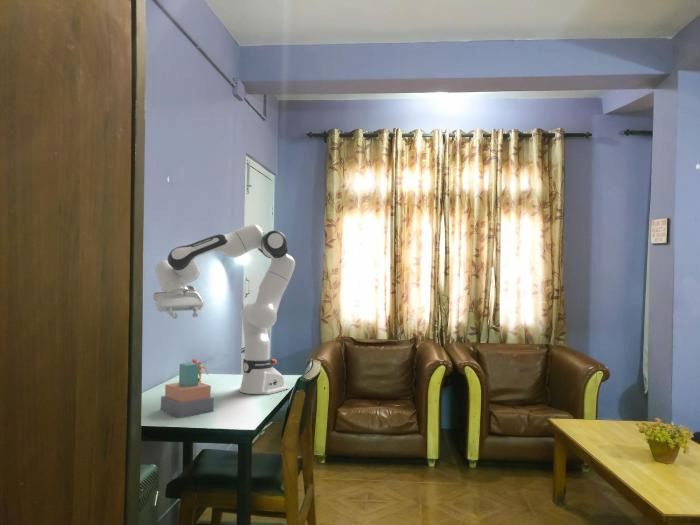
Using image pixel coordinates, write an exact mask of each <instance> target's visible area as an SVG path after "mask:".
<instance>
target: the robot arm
mask: <svg viewBox="0 0 700 525" xmlns="http://www.w3.org/2000/svg"><path fill="white" fill-rule="evenodd" d="M254 249H257V250H258V251H259V252H260V253H261V254H262V255H263V256H265V257H266V258H268V259H270V260H271V261H270V264H269V267H268V269H267V271H266V273H265V275H264V277H263V279H262V281H261V282H260V285H259V287H258V293H257V297H256V300H255V301H254V302H253V301H252V302H249V303H247V304H245V305H244V306H243V308H242V309H241V319H242V326H243V328H242V329H243V336H244V356H243V357H244V358H242V359H243V361H242V370H243V371H242V379H241V383H240V387H239V390H238V391H239V392H241V393H243V394H247V395H272V394H275V393H278V392H282V391H287V390H289V389H290V387H289V385H288V384H285V380H284V379H285V378H284V376H283V374H282V373H281V372H279V370H277V369H276V368H274V367H273V365H277V363H278V361H277V359H275V358H273V359H271V358H270V351H271V350H270V349H271V340H270V337H269V334H268V329H270V328H271V327H273V326H274V325H275V324H276V322H277V319H278V318H277V314H278V310H279V307H280V303H281V300H282V298H283V295H284V293H285V291H286V289H287V287H288V285H289V283H290V281H291V278H292V276H293V273H294V271H295V268H296V267H295V266H296V261H295V260H296V259H294V257H293V256H291V255H290V254H288V240H287V238H286V235H285V234H284V233H283V232H281V230H276V229H275V230H274V229H273V230H269V231H268V232H267V233H265V232H264V231H263V229H262V228H261V226H259V225H258V224H253V223H252V224H249V225H246V226H243V227H241V228H238V229H236V230H233V231H232V232H229V233H227V234H216V235H213V236H209V237H206V238H203V239H200V240H198V241H195V242H193V243H190V244H187V245H181V246H177V247H175V248H173V249H172V250H170V252H169V254H168V255H167V259H164V260H161V261H159V262H158V263H157V264H156V266H155V268H154V274H155V277H156V280H157V282H158V284H159V286H160V287H161V291H157V292H154V293H153V294H152V298H153V300H154V304H155V308H156V310H157V311H158V312H159V313H163V312H164V313H165V312H166V313H167V314H168V315H170V316H171V318H172V319H178V314H177V312H181V311H182V312H184V311H192V312H193V313H192V317H193V318H198V316H199V313H198V311H200V310H202V308H203V307H204V304H205V302H204V301H203V298H202V296H201V295H200V293H199V292H197V288H196V287H195V286H192V285H189V283H191V282H194V281H195V280H197V279H198V277H199V276H200V274H201V268H200V266H199V265H198V263H197V261H196V260H195V259H196V258H197V257H200V256H204V255H206V254H209V253H210V252H219V253H221V254H223V255H225V256H226V257H228V258H238V257H240V256H242V255H245V254H246V253H248V252H250V251H252V250H254ZM286 389H287V390H286Z"/></svg>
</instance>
